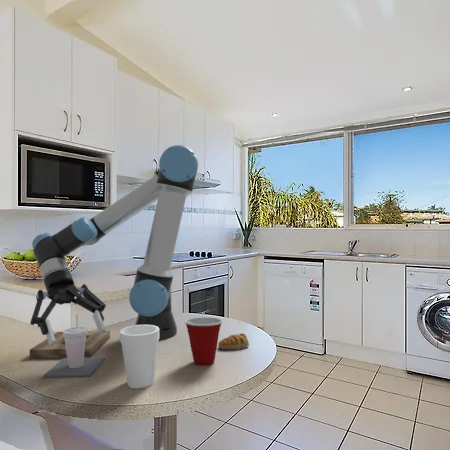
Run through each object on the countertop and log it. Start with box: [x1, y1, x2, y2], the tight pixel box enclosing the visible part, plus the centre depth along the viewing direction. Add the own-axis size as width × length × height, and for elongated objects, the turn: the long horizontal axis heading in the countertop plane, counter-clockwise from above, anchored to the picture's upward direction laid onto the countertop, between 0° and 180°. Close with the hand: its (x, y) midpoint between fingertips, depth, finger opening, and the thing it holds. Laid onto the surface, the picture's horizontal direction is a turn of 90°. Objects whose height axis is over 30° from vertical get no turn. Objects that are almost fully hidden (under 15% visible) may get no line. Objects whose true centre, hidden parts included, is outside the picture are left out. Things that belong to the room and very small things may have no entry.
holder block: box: [29, 330, 111, 359], centre depth 116 cm, size 18×18×2 cm
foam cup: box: [119, 324, 160, 389], centre depth 89 cm, size 10×9×13 cm
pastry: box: [217, 333, 250, 350], centre depth 114 cm, size 9×7×4 cm
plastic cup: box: [184, 316, 223, 367], centre depth 102 cm, size 11×11×12 cm
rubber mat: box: [42, 356, 106, 378], centre depth 99 cm, size 12×12×1 cm
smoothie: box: [62, 313, 89, 368], centre depth 99 cm, size 6×6×14 cm
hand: (79, 337), depth 97 cm, fingers open, 13 cm apart
